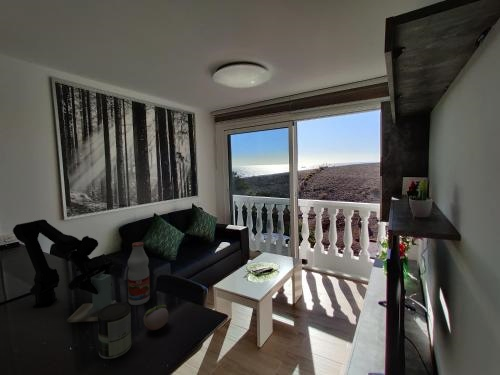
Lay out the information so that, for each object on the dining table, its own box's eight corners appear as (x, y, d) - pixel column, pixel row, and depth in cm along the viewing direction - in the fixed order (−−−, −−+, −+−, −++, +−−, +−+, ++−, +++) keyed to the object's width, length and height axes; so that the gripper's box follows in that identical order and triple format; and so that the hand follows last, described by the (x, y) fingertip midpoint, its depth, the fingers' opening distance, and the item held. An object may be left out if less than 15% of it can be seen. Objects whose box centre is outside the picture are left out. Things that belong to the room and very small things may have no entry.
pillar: (92, 308, 107) (91, 276, 105) (102, 301, 111) (101, 271, 110) (102, 309, 105) (101, 278, 104) (111, 303, 110) (110, 273, 109)
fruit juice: (150, 294, 126) (149, 239, 124) (149, 303, 117) (148, 245, 115) (129, 297, 123) (128, 241, 120) (127, 307, 114) (125, 247, 112)
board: (67, 322, 102) (66, 313, 102) (83, 306, 114) (83, 298, 114) (107, 320, 104) (107, 311, 104) (119, 304, 116) (118, 296, 116)
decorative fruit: (153, 340, 93) (153, 314, 92) (140, 332, 97) (139, 307, 96) (173, 326, 101) (173, 303, 100) (160, 320, 105) (159, 297, 104)
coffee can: (92, 360, 83) (90, 319, 82) (107, 338, 93) (106, 302, 92) (124, 358, 84) (123, 318, 83) (136, 337, 94) (135, 301, 93)
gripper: (72, 258, 98) (97, 289, 97) (109, 244, 116) (130, 269, 115) (57, 275, 101) (81, 305, 99) (96, 258, 119) (116, 284, 117)
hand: (104, 289), depth 107 cm, fingers open, 7 cm apart
